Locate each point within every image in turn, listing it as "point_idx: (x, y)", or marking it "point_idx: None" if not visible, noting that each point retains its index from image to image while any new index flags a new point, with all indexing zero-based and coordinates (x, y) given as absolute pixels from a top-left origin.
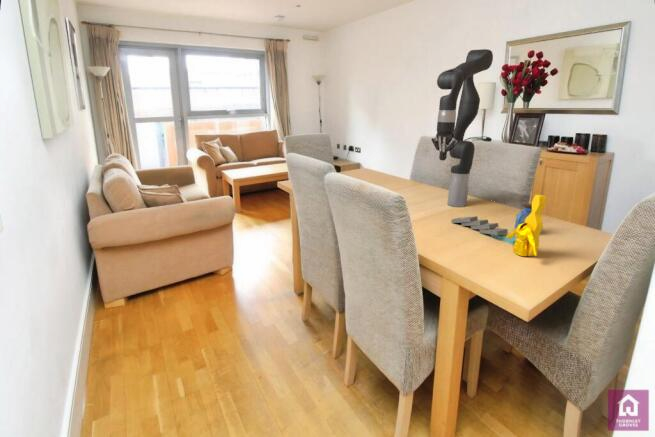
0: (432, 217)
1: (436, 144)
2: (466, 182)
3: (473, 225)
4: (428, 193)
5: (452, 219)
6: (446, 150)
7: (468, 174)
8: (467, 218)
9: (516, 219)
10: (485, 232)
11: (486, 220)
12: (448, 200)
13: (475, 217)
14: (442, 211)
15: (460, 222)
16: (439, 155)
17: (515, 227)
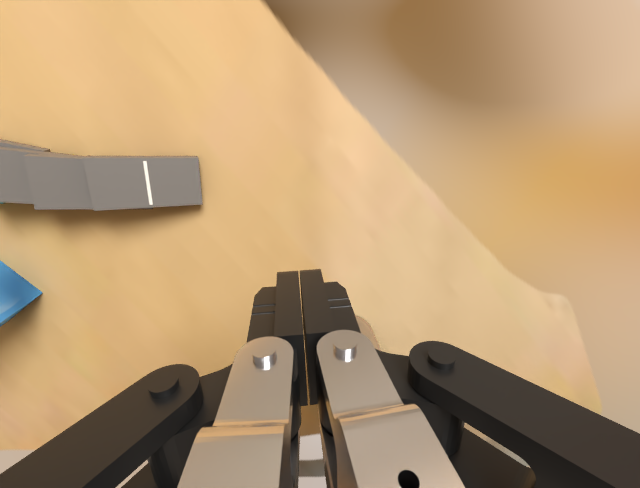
0: (292, 148)
1: (537, 448)
2: (319, 421)
3: (76, 156)
4: (490, 362)
5: (193, 159)
6: (172, 371)
7: (324, 465)
8: (97, 157)
9: (1, 307)
10: (4, 140)
11: (33, 199)
12: (363, 326)
13: (91, 197)
14: (320, 242)
15: (147, 156)
16: (350, 306)
17: (18, 286)
